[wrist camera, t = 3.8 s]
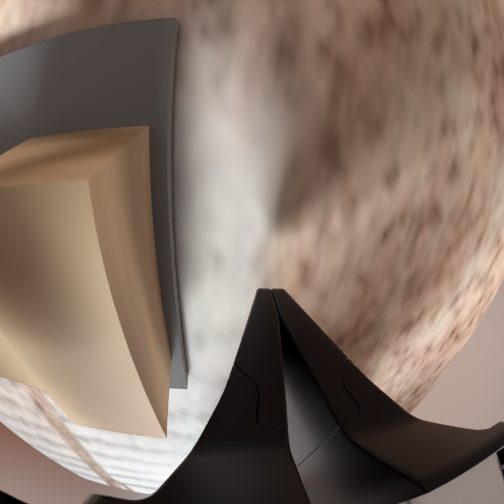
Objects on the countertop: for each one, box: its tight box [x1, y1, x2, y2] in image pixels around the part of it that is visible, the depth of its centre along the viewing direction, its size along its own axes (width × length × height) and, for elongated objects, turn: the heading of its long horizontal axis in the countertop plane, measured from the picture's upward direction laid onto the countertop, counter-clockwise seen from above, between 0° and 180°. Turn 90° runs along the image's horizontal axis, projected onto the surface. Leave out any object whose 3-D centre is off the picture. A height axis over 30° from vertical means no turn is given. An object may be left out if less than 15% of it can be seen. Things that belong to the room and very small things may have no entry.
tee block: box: [0, 126, 172, 438], centre depth 7 cm, size 9×10×4 cm
